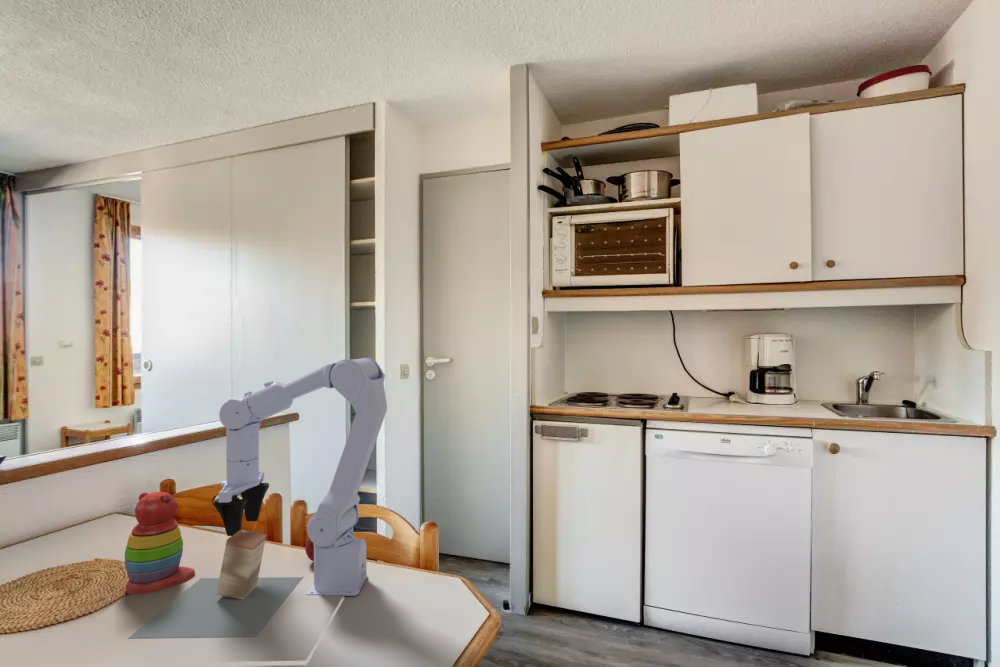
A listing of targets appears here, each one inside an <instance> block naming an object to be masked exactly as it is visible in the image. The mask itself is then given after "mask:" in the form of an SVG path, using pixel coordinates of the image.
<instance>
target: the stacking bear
mask: <svg viewBox="0 0 1000 667" xmlns="http://www.w3.org/2000/svg"><path fill="white" fill-rule="evenodd" d="M178 508H179V502H178V501H177V500H176V498H175V497H174V496H173V495H172V494H170V493H168V492H163V491H155V492H150V493H147V492H146V491H145V492H141V493H140V494H139V496H138V501H137V503H136V505H135V508H134V515H135V518H136V522H138V523H137V524H135V526H134V527H133V528H132V530H131V532H130V534H129V536H128V539H127V542H126V546H125V551H124V566H125V569H126V573H127V578H128V581H127V583H126V586H125V592H126V591H127V592H126V593H127V594H133V595H143V594H144V595H145V594H149V593H155V592H159V591H163V590H167V589H169V588H172V587H175V586H177V585H180V584H182V583H184V582H186V581H188V580H190V579H192V578H193V577H195V576H196V575H195V574H196V572H195V569H194V568H193V567H188V566H180V564H181V560H182V557H183V551H184V542H183V541H184V540H183V537H182V532H181V528H180V525H178V521H177V520H176V519H175V518H174V516H175V514H176V512H177V510H178Z"/></svg>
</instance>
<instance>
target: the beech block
mask: <svg viewBox="0 0 1000 667" xmlns="http://www.w3.org/2000/svg"><path fill="white" fill-rule="evenodd" d="M266 538H267V533H262V532H257V531H252V530H244V529H241V530H239V531H238V532H237V533H235V534H234V535H233V536H229V537H228V538H227V539H226V543H225V547H224V552H223V556H222V557H223V558H222V563H221V568H220V572H219V577H218V578H219V583H218V588H217V593H216V595H220V596H226V597H232V598H238V599H243V600H244V599H245V598H246V597H247V596H248V595H249V594H250V592H251V591H252V590H253V589H254V588H255V587H256V586H257V581H258V578H259V575H260V571H261V564H262V559H263V554H264V550H265V544H266V540H267V539H266Z"/></svg>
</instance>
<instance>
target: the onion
mask: <svg viewBox="0 0 1000 667" xmlns="http://www.w3.org/2000/svg"><path fill="white" fill-rule="evenodd" d="M304 546H305V548H304V551H305V554H306V555H307V558H308V559H309V560H310V561H312V562H313V563H314V543H313V542H312V541H311V540H310V538H309V537H308V539H307V540H306V543H305V545H304Z"/></svg>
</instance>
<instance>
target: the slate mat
mask: <svg viewBox="0 0 1000 667" xmlns="http://www.w3.org/2000/svg"><path fill="white" fill-rule="evenodd" d="M219 578H220V577H207V578H206V577H203V578H202V577H201V578H199V579H198V580H197V581H196V582H195V583H194V582H193V583H194V584H192V585H191V586H189V587H188V588H187V589H186V590H185V591H184V592H182V593H180V595H179V596H177V597H176V598H175V599H174V600H172V602H169V604H168V605H166V606H165V607H164V608H162V610H160V611H159V612H158V613H157V614H156V615H154V616H153V617H152V618H151V619H150V620H148V621H147V622H145V623H144V624H143V625H142V626H141V627H140V628H138V629H137V630H136V631H135V632H134V633H133V634H131V635H130V636H129V637H128V638H127V639H132V640H133V639H189V638H191V639H193V638H194V639H198V638H199V639H200V638H201V639H202V638H206V639H207V638H256V637H257V636H258V635H259V634H260V632H261V631H262V630H263V628H264V627H265V626H266V625H267V624H268V623H269V621H270V620H271V619H272V618H273V616H274V615H275V614H276V613H277V611H278V610H279V608H280V607H281V606H282V605H283V604H284V603H285V601H286V599H287V598H288V597H289V596H290V595H291V593H293V591H294V590H295V588H296V587H297V586H298V585H299V583H300V582H301V581H302V579H303V578H304V577H302V576H288V577H287V576H285V577H284V576H283V577H282V576H280V577H279V576H277V577H274V576H273V577H271V576H270V577H258V581H257V586H256V587H255V588H254V589H253V590H252V591H251V592H250V594H249V595H248V596H247V597H246V598H245V599H244V600H243V599H238V598H232V597H226V596H220V595H216V593H217V588H218V583H219Z"/></svg>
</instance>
